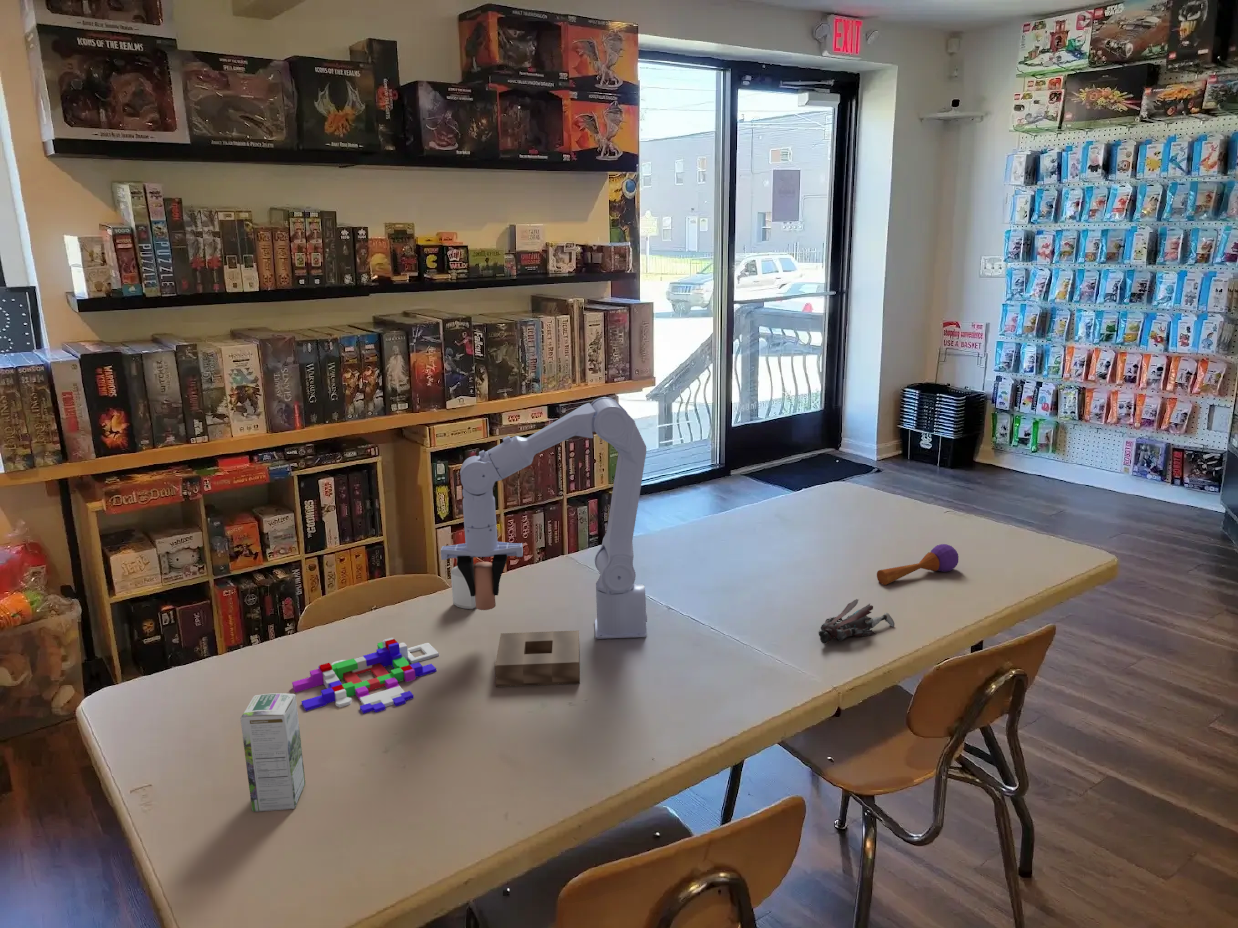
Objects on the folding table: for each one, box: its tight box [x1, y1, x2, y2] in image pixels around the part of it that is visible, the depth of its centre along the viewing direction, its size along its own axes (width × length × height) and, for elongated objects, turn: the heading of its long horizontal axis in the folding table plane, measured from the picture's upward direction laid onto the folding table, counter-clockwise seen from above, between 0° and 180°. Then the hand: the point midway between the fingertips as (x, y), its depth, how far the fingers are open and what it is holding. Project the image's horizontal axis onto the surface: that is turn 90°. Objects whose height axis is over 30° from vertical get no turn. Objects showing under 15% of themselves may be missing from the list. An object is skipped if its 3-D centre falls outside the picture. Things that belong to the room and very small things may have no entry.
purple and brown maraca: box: [876, 543, 959, 586], centre depth 193 cm, size 6×6×20 cm
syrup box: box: [240, 692, 306, 813], centre depth 121 cm, size 6×6×14 cm
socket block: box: [494, 630, 581, 688], centre depth 157 cm, size 14×12×4 cm
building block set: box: [291, 636, 440, 714], centre depth 154 cm, size 25×20×4 cm
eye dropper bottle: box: [450, 565, 476, 610], centre depth 182 cm, size 4×6×12 cm
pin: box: [473, 561, 496, 611], centre depth 164 cm, size 4×4×8 cm
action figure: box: [817, 598, 895, 644], centre depth 167 cm, size 8×6×18 cm
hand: (484, 593), depth 165 cm, fingers closed on pin, 4 cm apart
